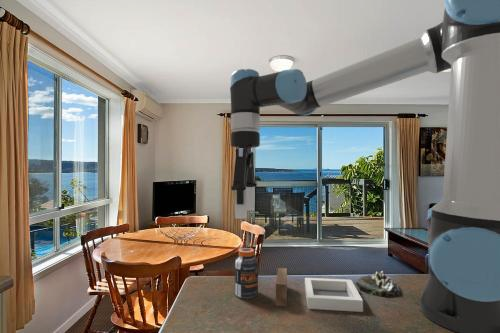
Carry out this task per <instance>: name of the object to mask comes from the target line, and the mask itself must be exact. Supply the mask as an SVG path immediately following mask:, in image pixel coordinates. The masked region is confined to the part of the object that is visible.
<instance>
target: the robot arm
mask: <svg viewBox="0 0 500 333" xmlns="http://www.w3.org/2000/svg"><path fill="white" fill-rule="evenodd" d="M443 5H444V11H443V20H442V21H441V22H440V23H439V24H436V25H435V26H433V27H430V28H428V29H425V30H423V33H422V34H421V35H420V36H419V37H418V38H415V39H413V40H409V41H407V42H405V43H402V44H400V45H399V46H396V47H393V48H390V49H388V50H385V51H383V52H381V53H378V54H375V55H373V56H370V57H368V58H365V59H362V60H359V61H357V62H355V63H352V64H350V65H347V66H345V67H342V68H339V69H337V70H334V71H332V72H329V73H328V74H325V75H322V76H319V77H317V78H315V79H311V80H310V81H308V82H307V80H306V76H305V75H304V72H303V71H302V70H300V69H298V68H294V69H285V70H284V69H283V70H281V71H279V72H273V73H269V74H263V75H260V73H259V72H258V71H257V70H255V69H252V68H245V69H243V68H240V69H237V70H235V71H234V72H233V73H231V76H230V87H229V91H230V118H231V119H229V120H228V123H229V124H230V131H231V133H230V147H231V148H235V160H234V161H235V162H234V170H233V171H234V172H233V181H232V186H231V187H230V189H231V191H234V219H239V220H240V219H242V220H243V219H244V220H245V219H246V220H247V218H248V211H255V188H257V186H258V183H257V182H256V180H255V178H256V177H255V176H256V175H255V162H254V159H255V156H254V154H255V153H254V152H253V151H252V148H258V147H260V146H261V138H260V133H259V131H260V130H261V117H260V116H261V115H260V112H261V111H260V109H261V108H264V107H271V106H278V107H281V108H283V109H286V110H288V111H290V112H293V113H294V114H296V115H298V116H309V115H311V114H313V113H315V111H316V110H317V109H318V108H321V107H324V106H325V107H326V106H328V105H331V104H333V103H336V102H340V101H342V100H346V99H348V98H352V97H354V96H357V95H361V94H363V93H366V92H370V91H373V90H375V89H378V88H381V87H384V86H388V85H390V84H393V83H396V82H399V81H402V80H406V79H408V78H410V77H414V76H417V75H420V74H424V73H426V72H430V73H432V74H438V73H442V72H444V71H447V70H450V80H449V97H448V112H447V128H446V140H445V141H446V144H445V145H446V146H445V160H444V174H443V188H442V199H441V200H440V201H438V202H437V203H436V204H434V205H433V206H432V207H431V208H429V209H428V210H427V217H426V223H427V247H428V248H427V250H428V252H427V253H428V254H427V257H428V258H427V259H428V277H427V279H426V283H425V284H424V288H423V290H422V292H421V295H420V300H419V302H420V303H419V304H420V305H419V306H420V307H419V308H420V312H421V313H422V314H423V315H424V317H426V318H427V319H428V320H430V321H431V322H433V323H435V324H437V325H438V326H441V327H443V328H445V329H447V330H450V331H453V332H456V333H500V0H444V4H443Z"/></svg>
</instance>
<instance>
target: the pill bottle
mask: <svg viewBox="0 0 500 333" xmlns="http://www.w3.org/2000/svg"><path fill="white" fill-rule="evenodd" d="M234 294H235V295H236V296H237V297H238V298H241V299H252V298H255V297H256V296H257V295H258V294H259V260H258V259H257V257H256V256H255V249H254V248H250V247H242V248H239V249H238V257H236V258H235V260H234Z"/></svg>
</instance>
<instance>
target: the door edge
mask: <svg viewBox="0 0 500 333" xmlns="http://www.w3.org/2000/svg"><path fill="white" fill-rule="evenodd" d="M276 270H277V273H276V279H275V280H276V281H275V306H276V307H287V298H288V295H287V294H288V293H287V291H288V278H287V277H288V275H287V274H288V273H287V272H288V271H287V270H288V268H287V267H277V269H276Z"/></svg>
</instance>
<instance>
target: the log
mask: <svg viewBox="0 0 500 333" xmlns="http://www.w3.org/2000/svg"><path fill="white" fill-rule="evenodd" d="M393 281H394V279H393V278H391V276H388V275H386V274H384V271H383V270H381V271H380V272H378V271H375V272H374V273H373V274H370V275H365V276H364V275H363V276H362V277H359V278H357V280H356V281H355V285H356V286H357V288H358V289H359V291H361V292H363V293H365V294H368V295H369V296H370V295H371V296H375V297H376V296H377V297H379V298H387V299H388V298H389V299H390V298H396V297H397V298H398V297H400V296H401V295H402V292H401V289H400V288H399V285H398V284H397V283H394V282H393Z"/></svg>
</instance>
